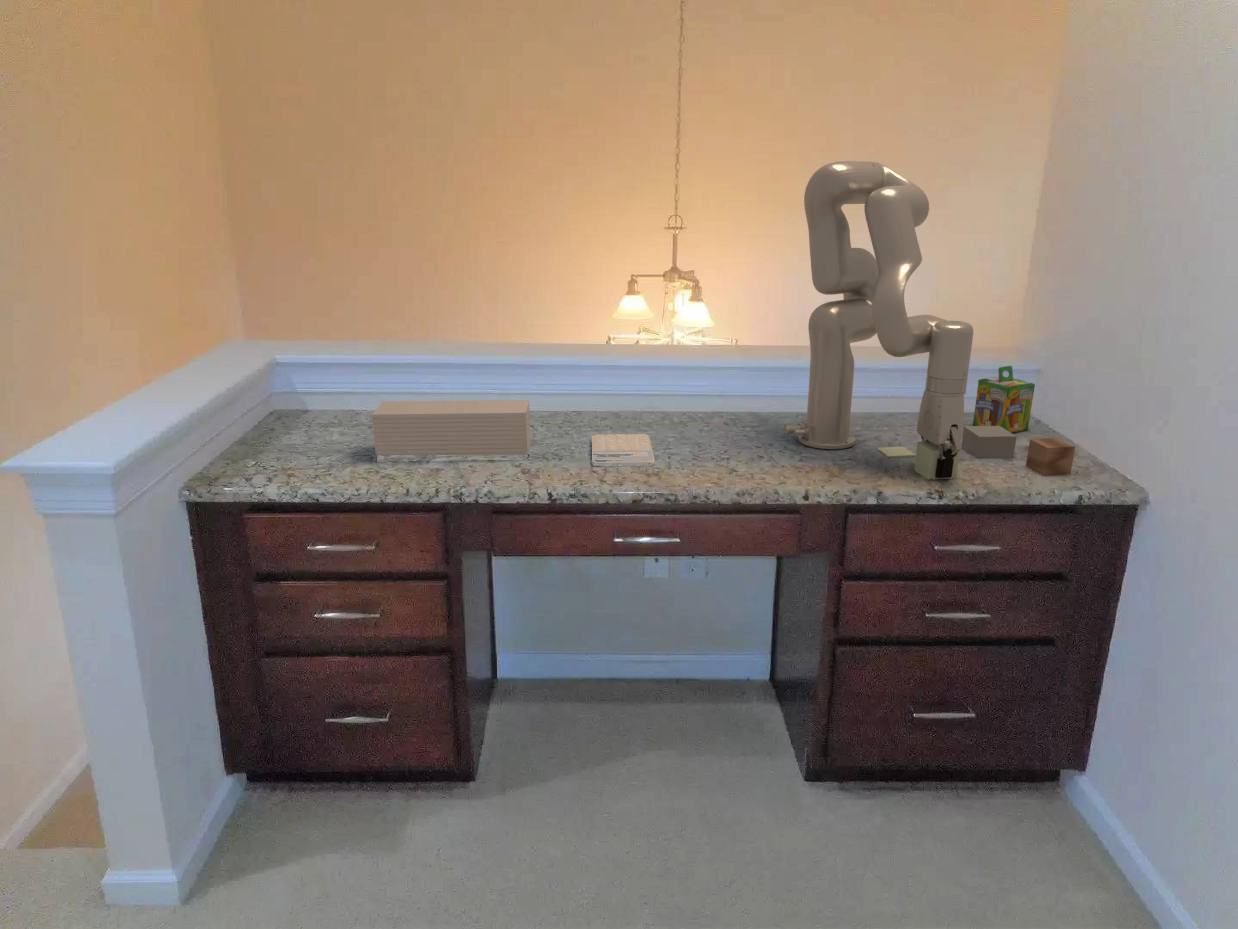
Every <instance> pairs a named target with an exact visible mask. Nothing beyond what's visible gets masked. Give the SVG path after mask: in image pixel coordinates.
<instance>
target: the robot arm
mask: <svg viewBox="0 0 1238 929" xmlns="http://www.w3.org/2000/svg"><path fill="white" fill-rule="evenodd" d="M803 197H804V198H803V204H804V205H803V206H804V211H805V216H806V223H807V229H808V242H809V256H810V257H809V258H810V269H811V270H810V271H811V278H812V279H811V280H812V285H813V287H814V289H815V291H817V292H818V293H820V294H823V295H826V296H827V295H830V296H832V295H840V294H843V296H842V297H843V299H840V300H838V299H837V300H834V301H833V300H832V301H827V302H824V303H823V304H820V305H819V306H817V307H816V308H815V309H814V310H813V311H812V313H811V314H810V316H809V320H808V324H807V325H808V326H807V327H808V337H809V346H810V360H809V361H810V363H809V379H808V382H809V383H808V394H807V411H806V419H802V420H801V421H802V422H801V423H799V424H798V425H796V424H795V425H794V424H789V425H788V424H786V425H784V433H785V434H787V435H788V434H789V435H790V434H793V435H794V436H798V437H797V438H798V442H799V443H801V444H802V445H805V446H807V447H811V448H815V449H820V450H821V449H822V450H843V449H847V448H850V447H853V446H855V444H856V437H855V436H854V435H853V434H852V433H850V425H851V423H850V422H851V413H852V403H853V402H852V399H853V388H854V377H855V376H854V375H855V359H854V355H853V352H852V347H851V344H852V343H858V342H863V341H867V340H869V339H871V338H873V337H874V336H875V335H877V338H878V341H879V343H880V346H881V347H882V348H883V350H884V351H885V352H886V354H888V355H890V356H891V357H893V358H894V357H896V358H903V357H909V356H915V355H918V354H919V355H921V354H926V353H928V362H927V369H926V370H927V371H926V380H925V388H924V391H923V395H922V397H921V401H920V407H919V412H918V418H917V424H916V425H917V426H916V431H917V433H918V434H919V436H920V437H921V442H931V443H933V444H935V445H939V453H940V458H937V466H936V475H935V476H936V477H937V478H950V477H951V476H952V470H953V463H954V459H955V458H956V455H957V454H958V452H959V451H960V452H961V450H962V449H963V448H962V437H963V429H964V415H965V414H964V413H965V395H966V392H967V385H968V376H969V369H970V364H971V363H970V361H971V353H972V346H973V339H974V328H973V326H972V325H971V323H969V322H966V321H961V320H960V321H959V320H948V319H943V318H941V317H938V316H935V315H932V314H921V315H920V314H919V315H912V316H908V313H907V311H906V309H907V308H906V303H905V290H906V286H907V282H908V281H909V279H910V277H911V276H912V275H913V273H914V272H915V271H916V270H917V269H918V267H919V266H920V265H921V263H922V261H923V256H922V252H921V248H920V243H919V240H918V235H917V232H916V228H917V227H919V226H921V225H922V224H923V223H924V222H925V221H926V220H927V218H928V216H929V212H930V202H929V197H927V195H926V193H925V191H923V189H922V188H920V187H919V186H918V185H916V184H915V183H913V181H910V180H909V179H907V178H906V177H904V176H902V175H900V174H899V173H897V172H896V171H894V170H893V169H891V168H890V167H888V166H886V165H885V164H882V163H880V162H878V161H877V162H876V161H856V160H855V161H853V160H845V161H844V160H842V161H834V162H829V163H827V164H824V165H823V166H820V167H819V168H818V169H817V170H816V171H814V173H813V174H812V176H810V178H809V180H808V182H807V184H806V187H805V190H804V196H803ZM860 204H861V205H862V204H863V205H864V207H863V208H864V209H863V210H864V216H865V220H866V225H867V229H868V233H869V238H870V242H871V244H872V248H873V252H874V253H873V254H874V255H873V254H872V252H871V251H869V250H867V249H865V248H861V247H852V244H851V233H850V232H851V230H850V225H849V224H850V223H849V222H848V219H847V217H846V215H845V213H844V212H843V210H842V207H843V206H845V205H860ZM945 442H948V443H945ZM946 446H950V449H947V450H946V451H945V447H946Z"/></svg>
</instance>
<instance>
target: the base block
mask: <svg viewBox="0 0 1238 929" xmlns="http://www.w3.org/2000/svg"><path fill="white" fill-rule="evenodd" d="M1016 441H1017V435H1015V434H1013V433H1010V432H1009V431H1007V430H1006V429H1004V428H1002V427H1001V426H973V425H963V430H962V436H961V445H962V449H963V450H965V451H966V452H967V453H968V454H970V455H971V454H972V455H971V456H973V457H974V456H975V457H974V458H975V459H1013V458H1014V455H1015V448H1016Z"/></svg>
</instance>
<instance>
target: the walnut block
mask: <svg viewBox="0 0 1238 929" xmlns="http://www.w3.org/2000/svg"><path fill="white" fill-rule="evenodd" d="M1075 451H1076V446H1075V445H1074V444H1070V443H1069V442H1066V441H1064V440H1063V439H1061V438H1058V437H1051V438H1049V437H1048V438H1030V439H1029V444H1028V450H1027V456H1026V462H1025V463H1026V464H1025V467H1026V466H1027V467H1026V468H1028V467H1029V468H1028V469H1030V470H1031V469H1032V470H1031V471H1033V472H1035V473H1037V472H1038V473H1037V474H1039V475H1040V474H1041V475H1040V476H1042V477H1046V476H1047V475H1051V476H1065V475H1064V474H1070V475H1071V472H1072V469H1073V468H1072V467H1073V462H1074V456H1075ZM1047 477H1048V476H1047Z"/></svg>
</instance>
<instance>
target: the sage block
mask: <svg viewBox="0 0 1238 929" xmlns="http://www.w3.org/2000/svg"><path fill="white" fill-rule="evenodd" d="M945 443H949V441H946V442H945ZM947 449H950V446H946V447H945V451H946V450H947ZM960 453H961V450H960V451H959V452H958V454H957V455H956V458H955V459H954V463H953V470H952V476H951V477H950V478H937V477H936V476H935V475H936V466H937V458H940V453H939V445H935V444H933V443H931V442H922V441H917V443H916V454H915V461H914V468H913V469H914V470H913V471H915V472H916V473H918V472H919V473H920V474H919V473H918V474H919V475H921V476H923V477H924V478H925V479H926V480H930V479H933V480H947V479H948V480H949V479H950V480H951V479H952V480H953V479H957V476H958V468H959V462H960V461H959V460H960Z"/></svg>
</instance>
